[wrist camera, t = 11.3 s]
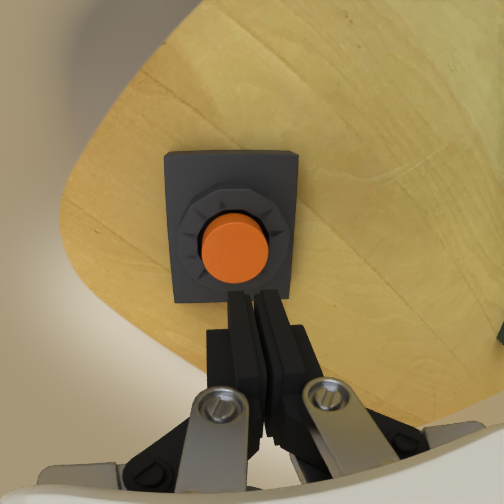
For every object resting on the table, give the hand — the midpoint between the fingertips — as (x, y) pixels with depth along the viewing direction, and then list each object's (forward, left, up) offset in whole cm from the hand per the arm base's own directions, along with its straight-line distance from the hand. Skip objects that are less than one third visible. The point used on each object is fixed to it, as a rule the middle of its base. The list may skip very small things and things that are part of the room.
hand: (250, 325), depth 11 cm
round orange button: (0, 0, -9) cm, 9 cm away
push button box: (0, 0, -12) cm, 12 cm away
